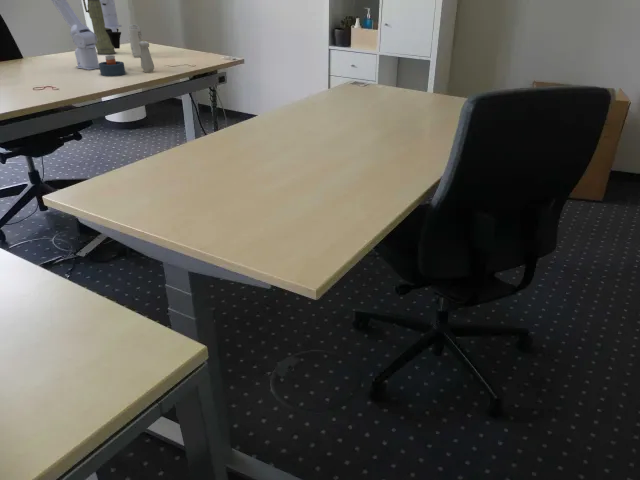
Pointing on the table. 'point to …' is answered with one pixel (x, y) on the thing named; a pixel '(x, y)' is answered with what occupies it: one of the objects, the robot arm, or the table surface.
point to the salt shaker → (146, 57)
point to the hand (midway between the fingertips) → (116, 47)
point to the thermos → (99, 27)
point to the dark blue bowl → (112, 69)
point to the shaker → (110, 60)
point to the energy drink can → (135, 39)
